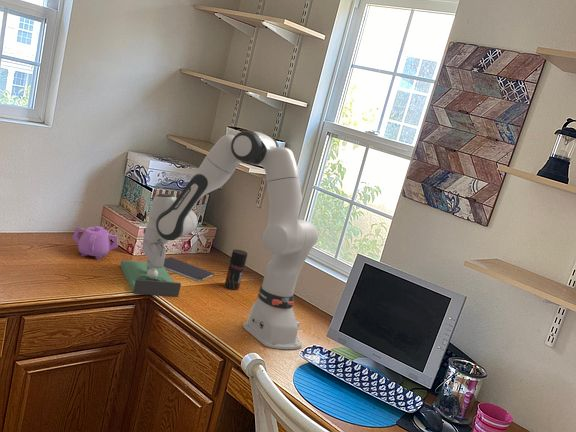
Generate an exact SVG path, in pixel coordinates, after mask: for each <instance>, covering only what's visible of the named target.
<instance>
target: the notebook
mask: <svg viewBox="0 0 576 432" xmlns="http://www.w3.org/2000/svg"><path fill="white" fill-rule="evenodd" d="M163 266H164V268H165V269H166V271H169V272H172V273H174V274H178V275H179V276H182V277H185V278H188V279H190V280H193V281H196V282H201V281H203V280H205V279H208V278H210V277H213V276H214V274H215V273H214V272H211V271H209V270H206V269H203V268H201V267H198V266H195V265H192V264H190V263H188V262H185V261H182V260H179V259H177V258H174V257H171V256H170V257H167V258H166V257H165V260H164V265H163Z"/></svg>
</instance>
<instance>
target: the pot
mask: <svg viewBox="0 0 576 432" xmlns="http://www.w3.org/2000/svg"><path fill="white" fill-rule="evenodd" d="M80 232H81V233H82V234H81V236H79V234H80ZM71 239H72V240H74V241H75V242H76V244H77V249H78V251H79V253H81V254H80V256H81V257H85V256H86V257H87V256H92V257H95V259H96V260H98V259H101V260H102V257H105V256H107V254H108V253H109V252H110V251H111V250H114V249H116V248H118V246H119V238H118V235H117V234H112V233H110V231H109V229H105V227H104V226H99V225H95V226H88V227H86V228H83V227H80V226H76V227H75V230H74V232H73V234H72V238H71ZM111 239H113V241H112V244H111Z"/></svg>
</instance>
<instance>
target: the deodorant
mask: <svg viewBox="0 0 576 432" xmlns="http://www.w3.org/2000/svg"><path fill="white" fill-rule="evenodd" d="M247 257H248V252H246V251H245V250H242V249H232V252H231V257H230V261H229V265H228V269H227V274H226V278H225V282H224V285H223V286H224V288H225V289H227V288H228V290H230V289H231V291H239V290H240V286H241V282H242V279H243V278H242V277H243V273H244V270H245V266H246V262H247V259H248V258H247ZM238 289H239V290H238Z"/></svg>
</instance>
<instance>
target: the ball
mask: <svg viewBox="0 0 576 432" xmlns="http://www.w3.org/2000/svg"><path fill="white" fill-rule="evenodd" d="M147 276H148V278H149V279H156V278H157V277H158V271H157V270H156V269H154V268H152V269H149V270H148V272H147Z"/></svg>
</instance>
